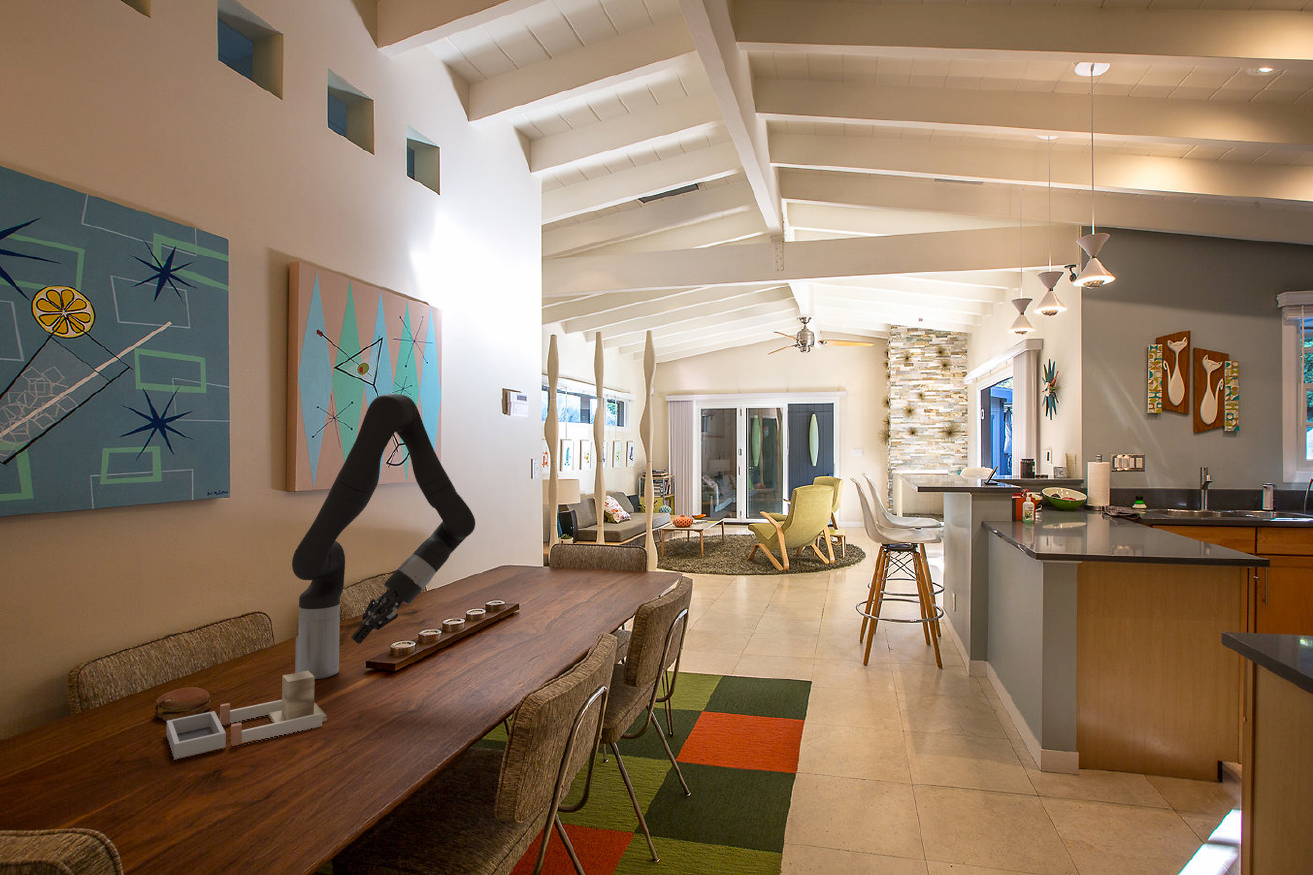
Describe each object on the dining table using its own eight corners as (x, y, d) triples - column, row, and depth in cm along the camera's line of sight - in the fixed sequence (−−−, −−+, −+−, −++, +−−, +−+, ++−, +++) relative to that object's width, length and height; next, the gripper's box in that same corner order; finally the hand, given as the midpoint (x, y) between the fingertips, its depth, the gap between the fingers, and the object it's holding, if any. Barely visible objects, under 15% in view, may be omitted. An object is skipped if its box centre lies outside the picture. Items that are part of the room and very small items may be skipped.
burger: (217, 703, 154) (217, 682, 154) (198, 720, 145) (198, 698, 145) (167, 706, 152) (168, 685, 152) (145, 723, 143) (145, 701, 143)
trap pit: (214, 725, 142) (214, 711, 142) (225, 748, 131) (225, 732, 131) (166, 736, 137) (166, 720, 137) (174, 760, 126) (174, 744, 126)
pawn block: (315, 708, 152) (315, 666, 152) (326, 721, 145) (327, 677, 145) (268, 718, 146) (269, 674, 146) (278, 732, 139) (279, 686, 139)
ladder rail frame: (304, 705, 153) (305, 687, 153) (322, 726, 142) (322, 706, 142) (219, 724, 143) (220, 704, 143) (231, 747, 132) (232, 726, 132)
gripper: (389, 564, 164) (333, 624, 156) (410, 572, 154) (351, 637, 146) (411, 584, 168) (357, 644, 160) (433, 593, 158) (377, 658, 150)
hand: (354, 640), depth 153 cm, fingers closed
